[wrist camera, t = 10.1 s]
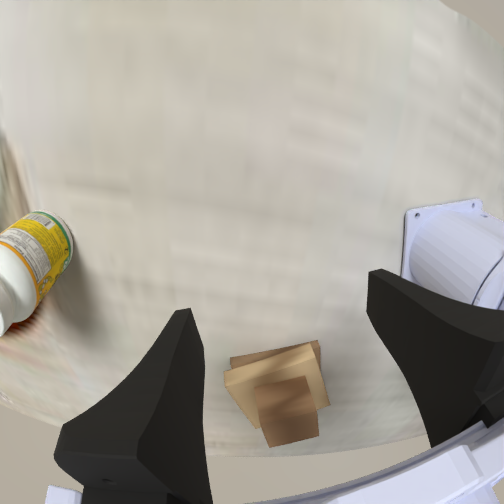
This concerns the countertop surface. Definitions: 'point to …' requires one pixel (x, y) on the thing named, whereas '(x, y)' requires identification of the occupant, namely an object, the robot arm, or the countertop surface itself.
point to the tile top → (275, 379)
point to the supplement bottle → (31, 263)
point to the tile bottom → (259, 356)
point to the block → (286, 411)
